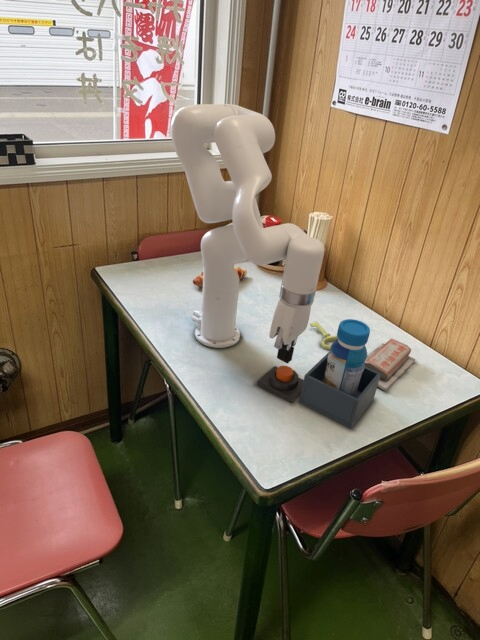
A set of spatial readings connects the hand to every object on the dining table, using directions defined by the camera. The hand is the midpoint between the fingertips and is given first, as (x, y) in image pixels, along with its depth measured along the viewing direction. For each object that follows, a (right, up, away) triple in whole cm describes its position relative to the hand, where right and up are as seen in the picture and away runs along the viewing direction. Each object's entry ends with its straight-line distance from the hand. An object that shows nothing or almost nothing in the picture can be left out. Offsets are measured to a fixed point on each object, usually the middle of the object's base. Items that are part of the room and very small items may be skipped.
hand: (284, 359), depth 114 cm
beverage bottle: (+13, -9, 0) cm, 16 cm away
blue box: (+13, -10, 0) cm, 16 cm away
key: (+14, +4, +23) cm, 27 cm away
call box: (0, -7, +3) cm, 8 cm away
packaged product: (+28, -4, +13) cm, 31 cm away
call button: (0, -4, +2) cm, 5 cm away
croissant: (-17, +22, +47) cm, 55 cm away
